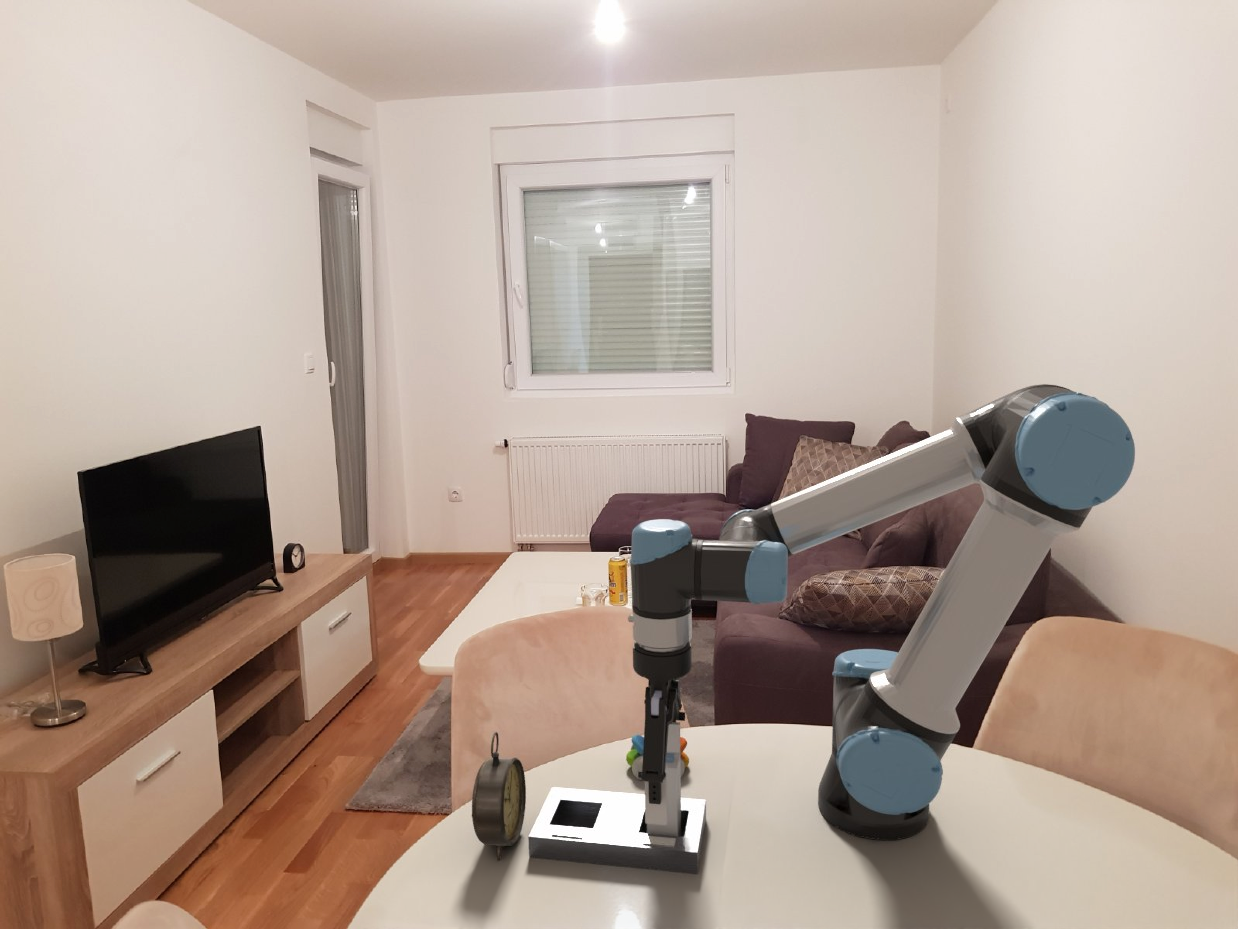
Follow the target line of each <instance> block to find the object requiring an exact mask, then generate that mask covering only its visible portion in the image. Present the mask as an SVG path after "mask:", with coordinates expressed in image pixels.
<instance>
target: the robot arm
mask: <svg viewBox="0 0 1238 929" xmlns="http://www.w3.org/2000/svg"><path fill="white" fill-rule="evenodd" d="M1135 458H1136V446H1135V442H1134V438H1133V433H1132V432H1131V430H1130V427H1129V426H1128V425H1127V422H1126V421H1125V420H1124V419H1123V418H1122V416H1121V415H1120V414H1119V413H1118V412H1117V411H1115V410H1114V409H1113V408H1111V407H1110V406H1109V405H1108V404H1107V403H1105V402H1103V401H1101V400H1099V399H1098V398H1097V397H1095V396H1091V395H1087V394H1085V393H1082V392H1077V391H1074V390H1071V389H1069V388H1067V387H1064V386H1060V385H1057V384H1049V383H1047V384H1046V383H1043V384H1034V385H1029V386H1025V387H1024V388H1023V387H1022V388H1019V389H1016V390H1014V391H1012V392H1011V393H1007V394H1006V395H1003V396H1001V397H999V398H998V399H994V400H993V401H991V402H988V403H986V404H984V405H982V406H980V407H977V408H975V409H973V410H971V411H969V412H966V413H964V414H962V415H959V416H957V417H956V418H954V420H953V422H952V425H951V426H950V428H948V429H946V430H943V431H941V432H939V433H937V434H934V435H932V436H930V437H928V438H925V439H923V440H922V439H921V440H920V441H918V442H915V443H912V444H911V445H908V446H906V447H903V448H900V449H899V450H898V449H897V450H896V451H893V452H892V453H889V454H887V455H883V456H882V457H880V458H877V459H875V460H872V461H870V462H868V463H865V464H863V465H860V466H857V467H855V468H853V469H850V470H849V471H846V472H844V473H841V474H839V475H836V476H833V477H832V478H829V479H827V480H825V481H821V482H818V483H817V484H815V485H813V486H810V487H807V488H805V489H802V490H800V491H799V492H798V491H797V492H796V493H793V494H791V495H789V496H788V495H787V496H785V497H784V498H782V499H779V500H777V501H775V502H774V501H773V502H772V503H770V504H767V505H765V506H762V507H759V508H758V509H752V508H751V509H748V508H747V509H742V510H739V511H736V512H735V513H733V514H732V515H731V516H730V517H729V518H728V519H727V521H725V522H724V523H723V526H722V527H721V529H720V534H719V538H718V540H717V539H716V540H715V539H699V538H693V534H692V533H691V532H692V531H691V528H690V526H689V525H688V524H687V523H686V522H684V521H681V520H673V519H669V518H668V519H666V518H665V519H664V518H663V519H662V518H658V519H650V520H646V521H642V522H641V523H638V524H637V525H636V526H635V527H634V528H633V529H632V532H631V546H630V548H631V551H630V552H631V553H630V559H629V563H630V578H631V609H632V612H631V613H632V614H629V615H628V616H627V621H628V622H629V623H633V624H632V639H633V640H634V642H632V669H633V670H634V672H635V673H636V674H637V675H638V676H640V677H642V678H645V679H646V680H648V682H647V684H648V686H645V690H644V691H645V692H644V693H645V695H644V698H645V699H644V727H643V728H644V730H643V737H644V747H643V765H642V772H638V778H642V780H641V781H642V782H644V795H645V823H646V824H657V825H667V823H668V808H667V774H666V773H665V768H666V755H667V752H678V753H680V737H681V722H685V721H686V712H685V711H681V709H682V708H683V704H682V698H681V696H682V695H681V685H680V679H682V678H683V677H685V676H687V675H688V674H689V673H690V672H691V670H692V666H693V665H692V661H693V660H692V643H691V642H690V641H691V640H692V638H693V637H692V635H693V630H692V629H693V626H692V624H693V622H692V620H693V619H692V618H693V617H692V616H693V615H692V613H693V611H692V603H691V602H692V600H697V601H715V602H717V601H718V602H731V603H732V602H733V603H750V604H754V605H761V604H778V603H779V604H780V603H783V601H785V599H787V597H788V570H789V569H788V564H789V562H788V557H792V556H793V555H796V554H799V553H800V552H802V551H805V550H808V549H811V548H813V547H815V546H818V545H820V544H823V543H825V542H828V541H831V540H834V539H836V538H838V537H841V536H843V535H846V534H849V533H851V532H853V531H856V530H859V529H861V528H864V527H866V526H869V525H872V524H874V523H877V522H879V521H882V520H884V519H886V518H889V517H891V516H894V515H896V514H899V513H902V512H904V511H907V510H910V509H912V508H915V507H917V506H919V505H922V504H925V503H927V502H930V501H932V500H935V499H937V498H940V497H944V495H948V494H950V493H952V492H955V491H958V490H960V489H963V488H966V487H969V486H971V485H973V484H978V485H980V488H981V491H982V494H983V502H982V504H981V506H980V507H979V509H978V511H977V513H976V514H975V516H974V517H973V520H972V522H971V523H970V525H969V526H968V528H967V530H966V532H965V534H964V535H963V538H962V539H961V541H960V543H959V545H958V546H957V548H956V550H955V551H954V553H953V556H952V557H951V558H950V560H949V563H948V564H947V565H946V567H945V569H944V571H943V573H942V575H941V576H940V578H939V580H938V581H937V583H936V586H935V587H934V589H933V591H932V592H931V594H930V596H929V597H928V600H927V601H926V603H925V605H924V607H922V608H923V609H922V611H921V612H920V614H919V615H918V617H917V619H916V620H915V623H914V624H913V626H912V628H911V630H910V632H909V633H908V635H907V637H906V639H905V640H904V642H903V643H902V646H901V647H900V648H899V649H900V650H899V651H898V652H897V651H894V650H892V651H891V650H886V649H878V648H862V649H861V648H858V649H852V650H847V651H844V652H841V653H840V654H838V655H837V657H835V660H834V666H833V671H832V677H833V697H832V699H833V700H832V731H831V733H832V736H831V738H832V739H831V741H832V742H831V754H830V756H829V760H828V762H827V764H826V767H825V770H824V771H823V774H822V777H821V780H820V783H819V785H818V794H817V796H818V797H817V802H818V803H817V805H818V809H819V811H820V814H822V816H823V817H824V819H826V821H828V822H829V823H830V824H831V825H833V826H834V827H836V828H838V829H840V830H842V831H844V832H846V833H849V834H851V835H854V836H857V837H861V838H865V839H871V840H877V841H892V840H893V841H896V840H902V839H906V838H910V837H913V836H915V835H917V834H919V833H920V832H922V831H923V830H924V829H925V828H926V826H927V824H928V823H929V820H930V819H929V818H930V803H931V802H933V801H934V800H935V798H936V797H937V795H938V793H939V792H940V790H941V787H942V786H941V785H942V783H943V782H942V781H943V775H944V769H943V765H942V762H941V761H942V759H943V757H944V756H945V754H946V752H947V750H948V749H949V747H950V745H951V744H952V742H953V740H954V739H955V737H956V735H957V733H958V732H959V730H960V728H961V723H960V720H959V716H958V713H957V710H956V708H957V706H958V704H959V702H960V701H961V699H962V698H963V696H964V694H965V692H966V691H967V689H968V687H969V685H970V684H971V682H972V681H973V679H974V677H975V676H976V674H977V673H978V671H979V670H980V667H981V665H982V664H983V662H984V661H985V659H986V658H987V656H988V654H989V652H990V651H991V649H992V647H993V645H994V644H995V643H996V641H997V638H998V637H999V636H1000V634H1001V632H1002V630H1003V629H1004V627H1005V626H1006V623H1007V621H1009V618H1010V616H1011V615H1012V613H1013V611H1014V610H1015V608H1016V606H1018V603H1019V602H1020V600H1021V598H1022V597H1023V595H1024V593H1025V591H1026V590H1027V589H1028V586H1029V585H1030V583H1031V582H1032V581H1033V578H1034V576H1035V575H1036V573H1037V571H1038V570H1039V568H1040V566H1041V564H1042V563H1043V561H1044V560H1045V559H1046V556H1047V554H1048V553H1049V551H1050V549H1051V547H1052V546H1053V545H1054V543H1055V541H1056V540H1057V538H1059V536H1061V535H1064V534H1068V533H1073V532H1076V531H1079V530H1080V528H1081V527H1082V525H1083V524H1084V522H1085V520H1086V519H1087V518H1088V515H1089V514H1090V512H1091V511H1092V509H1093V508H1094V507H1096V506H1098V505H1101V504H1103V503H1106V502H1107V501H1109V500H1110V499H1112V498H1113V497H1115V495H1117V494H1118V493H1119V492H1120V491H1121V490H1122V488H1123V487H1125V485H1126V484H1127V482H1128V480H1129V479H1130V476H1131V475H1132V472H1133V469H1134V465H1135V464H1134V463H1135V460H1136V459H1135ZM677 721H681V722H677Z"/></svg>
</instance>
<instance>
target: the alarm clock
mask: <svg viewBox="0 0 1238 929" xmlns="http://www.w3.org/2000/svg"><path fill="white" fill-rule="evenodd" d="M495 738H496V744H495V745H496V747H495V751H494V743H495ZM499 741H500V740H499V733H498V731H494V732H493V735H492V738H491V744H490V756H491V757H490V758H487V759H486V760H485V761H483V762H482V764H481V765H480V766H479V769H478V772H477V774H476V777H475V780H474V785H473V790H472V798H471V800H472V801H471V818H472V826H473V830H474V833H475V836H476V837H477V839H478V841H480V843H481V844H483V845H486V846H496V856H497V857H496V858H497V861H498V862H499V861H501V860H502V856H503V855H502V854H503V848H504V847H506V846H511V847H512V846H513V845H515V844H516V843H517V842H518V840H519V838H520V835H521V833H522V830H523V829H522V828H523V824H524V820H525V813H526V812H525V811H526V803H527V801H526V800H527V795H526V794H527V792H526V791H527V788H526V786H527V784H526V777H525V771H524V767H523V764H522V762H521V760H520V759H519V758H518V757H499V756H500V753H499V752H498V751H499Z"/></svg>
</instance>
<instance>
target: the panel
mask: <svg viewBox="0 0 1238 929" xmlns="http://www.w3.org/2000/svg"><path fill="white" fill-rule="evenodd" d="M706 822H707V799H702V798H691V797H681V837H680V836H669V835H658V834H647V824H646V823H645V793H644V794H641V793H630V792H629V793H628V792H620V791H619V792H618V791H607V790H606V791H605V790H596V789H595V790H594V789H583V788H571V787H569V788H568V787H559V786H558V787H557V786H552V787H551V788H550V790H549V793H548V794H547V797H546V799H545V801H544V802H543V805H542V807H541V809H540V812H539V813H538V815H537V818H536V820H535V822H534V824H533V826H532V828H531V830H530V832H529V834H528V855H529V858H530V859H540V860H549V861H561V862H570V863H578V864H579V863H580V864H582V863H583V864H592V865H600V866H611V867H619V868H629V869H639V870H640V869H642V870H651V871H660V872H661V871H662V872H668V873H669V872H670V873H671V872H672V873H680V874H681V873H682V874H690V875H698V873H699V868H700V860H701V854H702V847H703V842H704V841H703V839H704V834H705V828H706Z"/></svg>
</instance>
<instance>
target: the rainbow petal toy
mask: <svg viewBox="0 0 1238 929" xmlns="http://www.w3.org/2000/svg"><path fill="white" fill-rule="evenodd" d="M631 743H632V745H631V747H630V750H629V751H628V752H627V753H626V757H625V759H626V760H625V761H626V762H627V764H628V765H629V766H630V767H631V771H632V773H633V775H634V777H635V778H636V779H637V780H640V781H642V778H638V772H642V765H643V747H644V736H642V735H640V734H634V735H633V736H632V737H631ZM687 746H688V741H687V739H686V738H684V737H682V736H680V763H681V777H682V776H683V775H684V773H685V771H686V767H688V765H689V763H690V758H689V756H688V754H686V753H685V752H684V751H685V749H686V748H687Z"/></svg>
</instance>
